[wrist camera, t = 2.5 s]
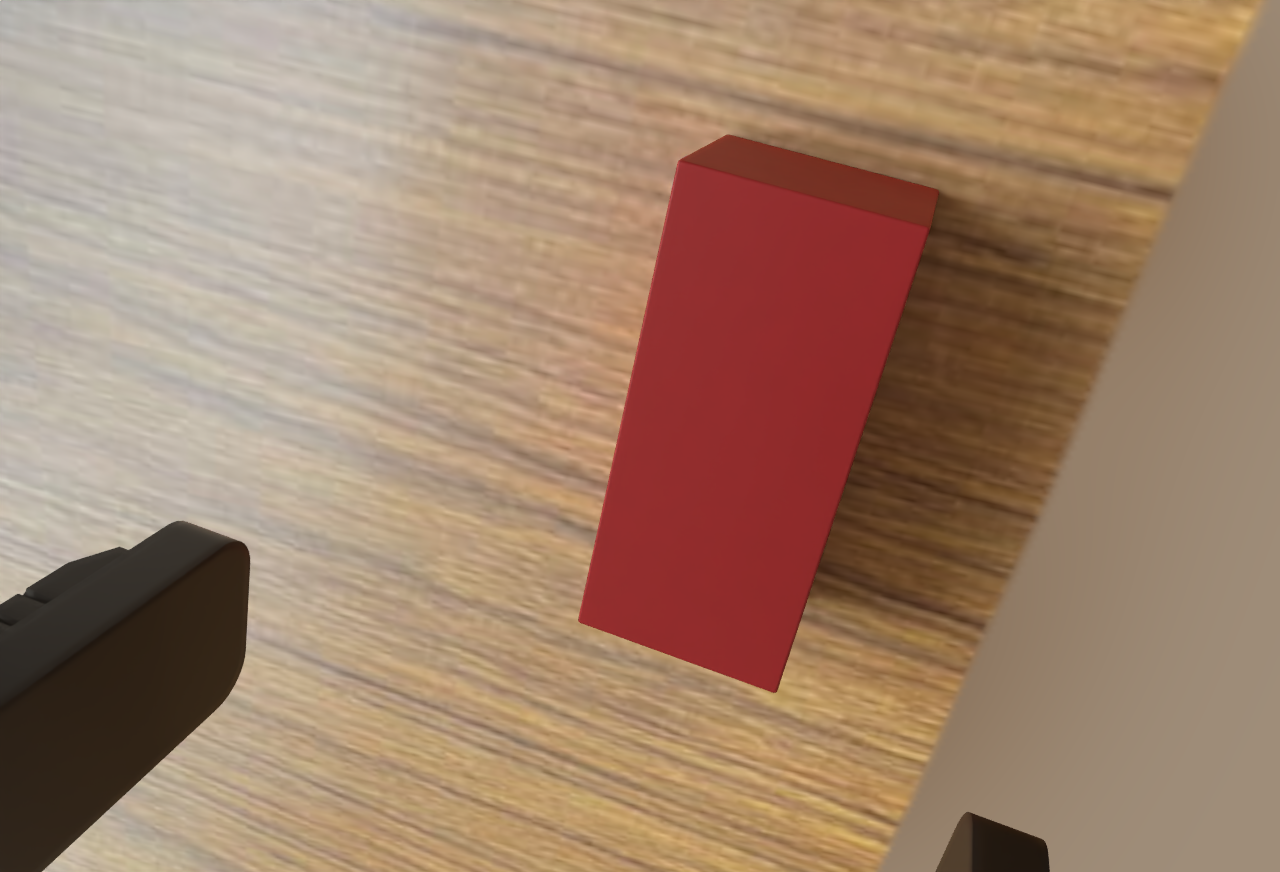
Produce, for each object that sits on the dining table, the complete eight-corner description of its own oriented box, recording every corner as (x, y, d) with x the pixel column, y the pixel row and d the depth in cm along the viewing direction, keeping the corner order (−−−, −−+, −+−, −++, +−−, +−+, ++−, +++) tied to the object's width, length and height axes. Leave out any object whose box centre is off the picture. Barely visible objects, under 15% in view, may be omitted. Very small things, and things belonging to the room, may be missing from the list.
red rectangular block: (726, 133, 19) (677, 159, 16) (940, 189, 19) (930, 228, 16) (631, 539, 23) (576, 622, 20) (804, 599, 23) (775, 694, 20)
